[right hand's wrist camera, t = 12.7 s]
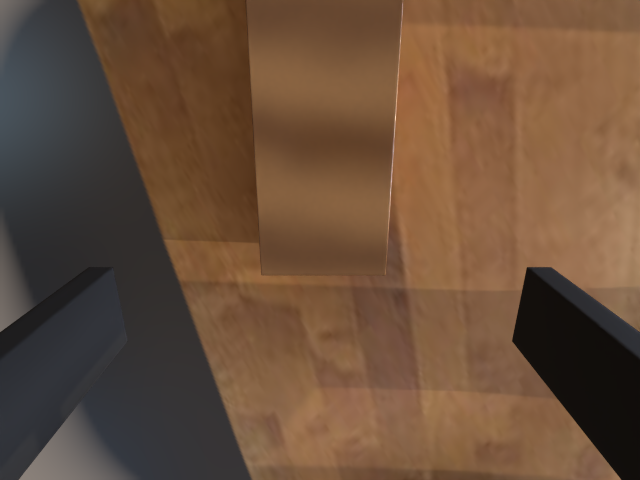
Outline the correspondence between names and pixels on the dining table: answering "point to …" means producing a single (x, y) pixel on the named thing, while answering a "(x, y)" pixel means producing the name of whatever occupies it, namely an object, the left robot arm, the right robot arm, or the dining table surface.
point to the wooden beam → (324, 132)
